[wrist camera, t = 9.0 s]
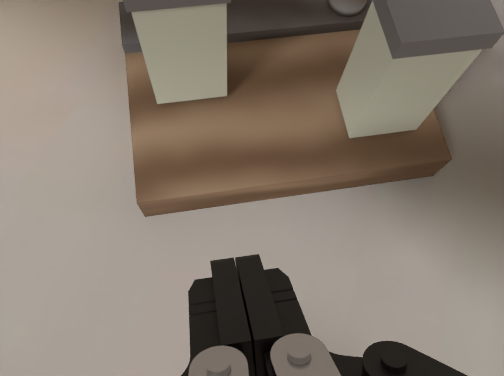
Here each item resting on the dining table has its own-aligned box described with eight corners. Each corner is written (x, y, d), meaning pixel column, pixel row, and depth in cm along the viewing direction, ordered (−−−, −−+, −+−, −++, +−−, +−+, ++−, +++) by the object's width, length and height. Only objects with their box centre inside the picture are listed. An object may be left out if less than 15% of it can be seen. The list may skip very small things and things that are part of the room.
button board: (433, 175, 33) (463, 149, 29) (145, 216, 31) (131, 194, 27) (377, 14, 39) (396, -29, 35) (130, 38, 37) (117, -4, 32)
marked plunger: (230, 98, 31) (231, -16, 22) (154, 106, 30) (121, -6, 21) (221, 48, 33) (218, -78, 23) (149, 56, 32) (116, -71, 22)
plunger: (419, 131, 31) (504, 32, 21) (347, 141, 30) (401, 43, 21) (402, 80, 32) (474, -34, 23) (332, 88, 32) (376, -26, 22)
